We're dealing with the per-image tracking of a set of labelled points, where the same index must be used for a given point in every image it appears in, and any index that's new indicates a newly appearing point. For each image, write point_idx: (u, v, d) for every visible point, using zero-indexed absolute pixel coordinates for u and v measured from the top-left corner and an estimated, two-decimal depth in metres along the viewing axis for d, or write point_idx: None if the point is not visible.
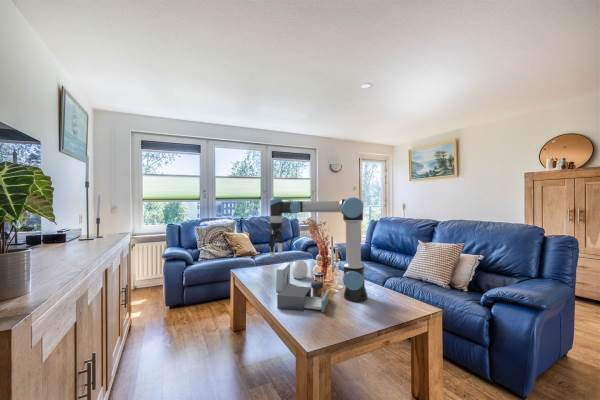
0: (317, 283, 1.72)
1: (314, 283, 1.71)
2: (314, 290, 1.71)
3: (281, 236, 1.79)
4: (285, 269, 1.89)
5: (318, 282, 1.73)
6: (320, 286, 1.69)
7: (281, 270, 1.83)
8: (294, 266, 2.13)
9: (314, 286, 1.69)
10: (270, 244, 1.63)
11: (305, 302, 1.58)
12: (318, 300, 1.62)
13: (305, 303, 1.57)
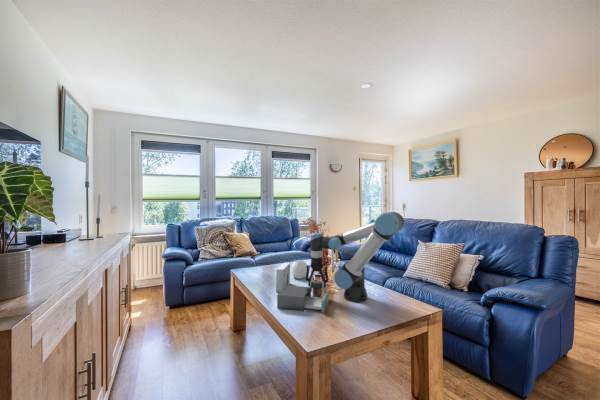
0: (317, 283, 1.72)
1: (314, 283, 1.71)
2: (314, 290, 1.71)
3: (325, 275, 1.70)
4: (285, 269, 1.89)
5: (318, 282, 1.73)
6: (320, 286, 1.69)
7: (281, 270, 1.83)
8: (294, 266, 2.13)
9: (314, 286, 1.69)
10: (306, 278, 1.74)
11: (305, 302, 1.58)
12: (318, 300, 1.62)
13: (305, 303, 1.57)
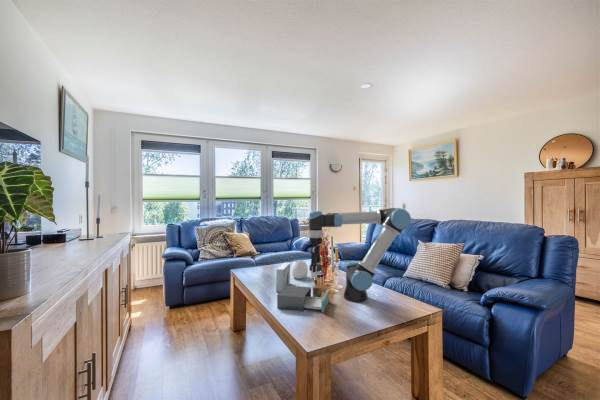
0: (316, 265, 1.59)
1: (317, 266, 1.57)
2: (314, 290, 1.71)
3: (319, 254, 1.63)
4: (285, 269, 1.89)
5: None
6: None
7: (281, 270, 1.83)
8: (294, 266, 2.13)
9: (321, 268, 1.56)
10: (313, 264, 1.51)
11: (305, 302, 1.58)
12: (318, 300, 1.62)
13: (305, 303, 1.57)
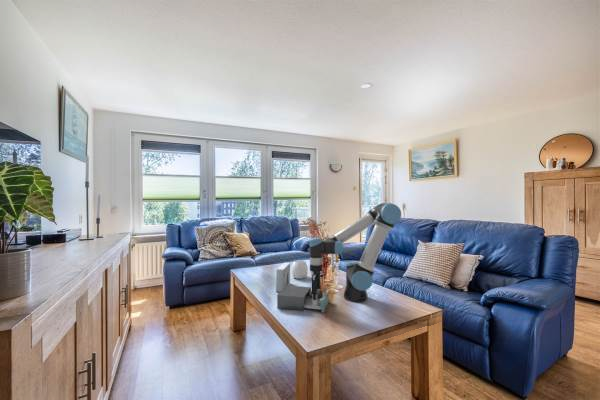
0: None
1: (318, 293, 1.56)
2: None
3: (319, 280, 1.63)
4: (285, 269, 1.89)
5: None
6: None
7: (281, 270, 1.83)
8: (294, 266, 2.13)
9: (321, 295, 1.56)
10: (313, 292, 1.51)
11: (305, 302, 1.58)
12: (318, 300, 1.62)
13: (305, 303, 1.57)
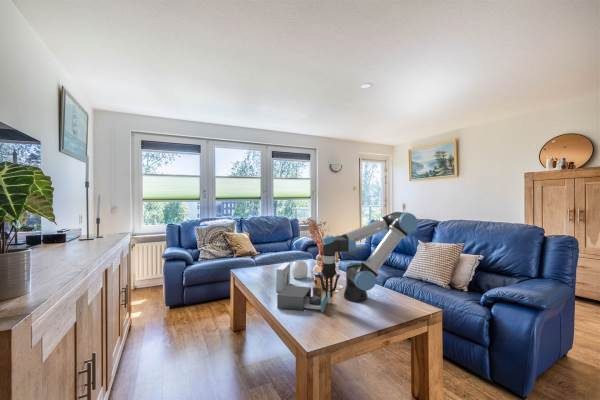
0: (316, 298, 1.58)
1: (317, 299, 1.56)
2: (314, 290, 1.71)
3: None
4: (285, 269, 1.89)
5: (314, 298, 1.59)
6: None
7: (281, 270, 1.83)
8: (294, 266, 2.13)
9: None
10: None
11: (305, 302, 1.58)
12: None
13: (304, 303, 1.57)
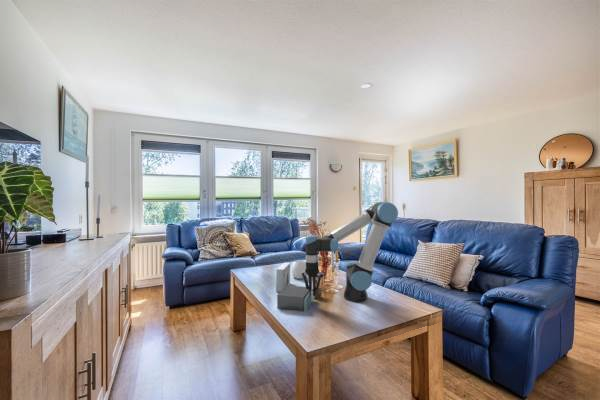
0: None
1: None
2: None
3: (317, 282, 1.57)
4: (285, 269, 1.89)
5: None
6: None
7: (281, 270, 1.83)
8: (294, 266, 2.13)
9: None
10: None
11: None
12: None
13: None
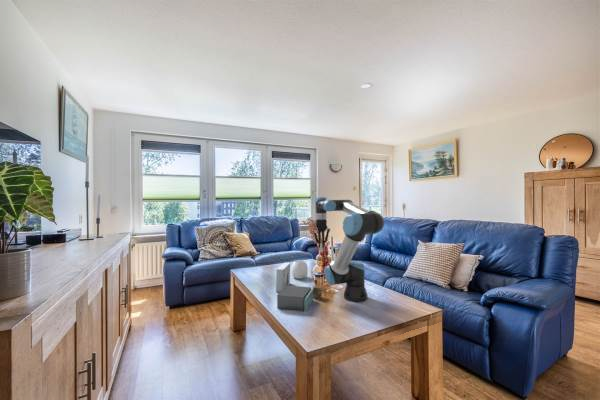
0: None
1: None
2: (314, 290, 1.71)
3: None
4: (285, 269, 1.89)
5: None
6: None
7: (281, 270, 1.83)
8: (294, 266, 2.13)
9: None
10: None
11: None
12: None
13: None
